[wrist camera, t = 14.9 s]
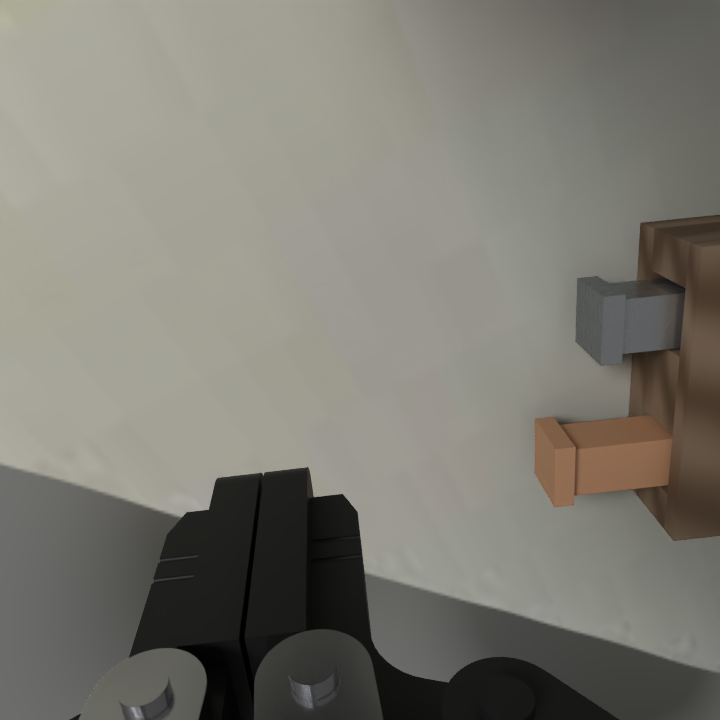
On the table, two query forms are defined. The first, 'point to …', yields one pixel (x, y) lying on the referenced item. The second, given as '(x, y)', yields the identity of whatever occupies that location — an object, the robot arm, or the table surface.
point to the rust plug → (600, 456)
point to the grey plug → (628, 317)
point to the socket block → (684, 376)
